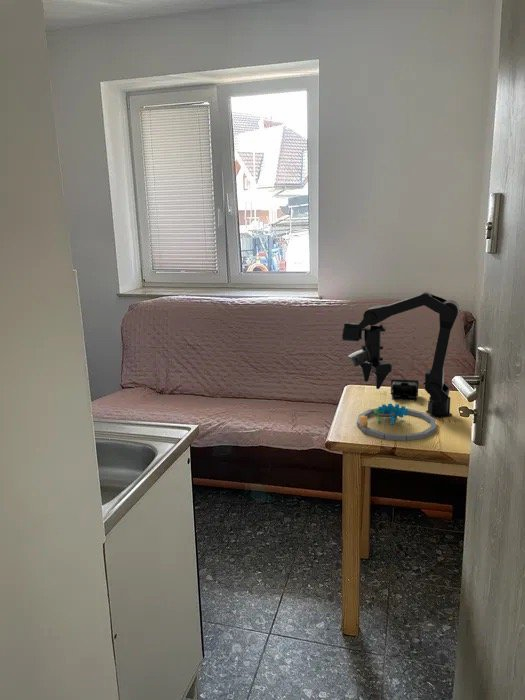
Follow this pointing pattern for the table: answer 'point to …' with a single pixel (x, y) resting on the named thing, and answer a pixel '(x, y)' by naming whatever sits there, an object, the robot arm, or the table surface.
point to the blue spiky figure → (390, 412)
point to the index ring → (403, 437)
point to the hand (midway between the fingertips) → (371, 385)
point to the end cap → (404, 389)
